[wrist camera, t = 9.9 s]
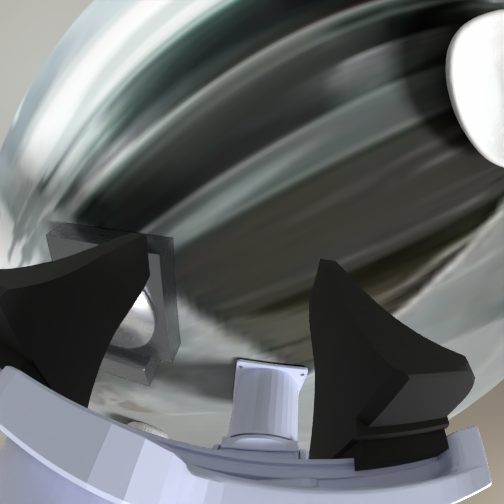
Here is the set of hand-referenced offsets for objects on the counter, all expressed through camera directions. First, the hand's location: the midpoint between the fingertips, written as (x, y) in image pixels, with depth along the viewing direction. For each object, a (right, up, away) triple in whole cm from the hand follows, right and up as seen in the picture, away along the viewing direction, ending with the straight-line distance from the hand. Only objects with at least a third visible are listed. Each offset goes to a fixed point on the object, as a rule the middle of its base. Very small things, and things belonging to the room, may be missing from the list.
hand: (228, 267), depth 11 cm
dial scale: (-13, -4, +16) cm, 21 cm away
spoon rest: (+22, +19, 0) cm, 29 cm away
